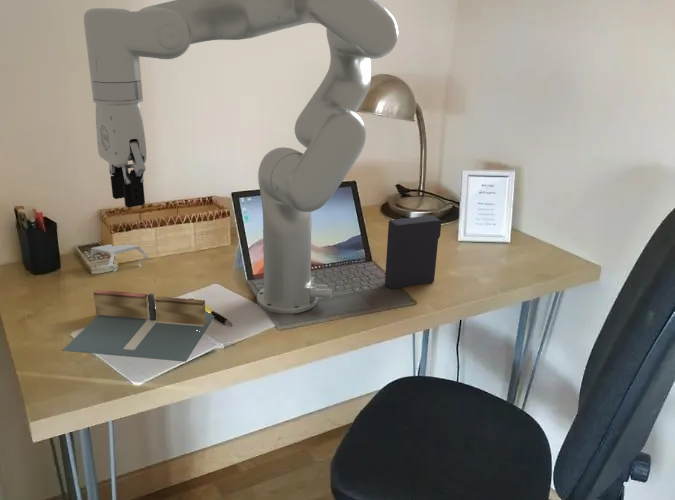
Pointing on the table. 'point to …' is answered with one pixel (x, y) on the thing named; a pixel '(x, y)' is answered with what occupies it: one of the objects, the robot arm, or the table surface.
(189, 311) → the fence fixed
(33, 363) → the table surface
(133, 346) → the card
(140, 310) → the fence gate
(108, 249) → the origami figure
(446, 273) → the table surface
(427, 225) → the dark navy box
